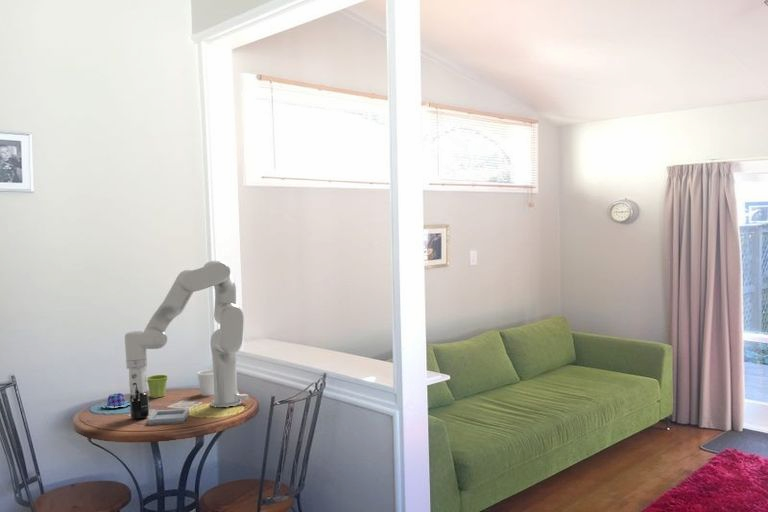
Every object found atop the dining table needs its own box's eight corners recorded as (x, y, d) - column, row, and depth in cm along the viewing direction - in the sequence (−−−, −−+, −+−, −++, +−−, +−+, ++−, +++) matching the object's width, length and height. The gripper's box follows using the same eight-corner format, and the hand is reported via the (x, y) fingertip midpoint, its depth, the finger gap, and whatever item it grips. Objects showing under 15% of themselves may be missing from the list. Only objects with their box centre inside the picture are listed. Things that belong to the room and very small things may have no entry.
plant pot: (164, 398, 291) (163, 379, 291) (143, 399, 292) (142, 379, 291) (171, 393, 301) (171, 374, 301) (151, 394, 301) (150, 375, 301)
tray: (189, 413, 265) (189, 408, 265) (183, 422, 252) (183, 417, 252) (155, 415, 263) (155, 410, 263) (147, 425, 250) (147, 419, 250)
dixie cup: (218, 391, 302) (218, 369, 302) (215, 396, 294) (214, 373, 293) (200, 392, 301) (199, 370, 301) (196, 397, 293) (195, 374, 293)
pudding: (126, 402, 289) (126, 389, 289) (135, 407, 280) (135, 394, 279) (97, 407, 282) (97, 394, 281) (106, 412, 272) (105, 399, 272)
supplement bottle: (143, 419, 257) (141, 388, 256) (127, 419, 258) (125, 388, 258) (152, 414, 263) (150, 384, 263) (137, 414, 265) (135, 384, 264)
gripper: (141, 367, 252) (144, 413, 253) (151, 358, 269) (154, 402, 270) (120, 368, 251) (123, 415, 252) (132, 359, 268) (135, 403, 269)
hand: (139, 408), depth 261 cm, fingers closed on supplement bottle, 6 cm apart
